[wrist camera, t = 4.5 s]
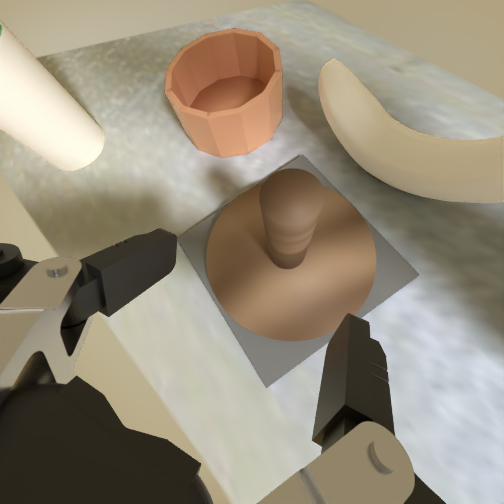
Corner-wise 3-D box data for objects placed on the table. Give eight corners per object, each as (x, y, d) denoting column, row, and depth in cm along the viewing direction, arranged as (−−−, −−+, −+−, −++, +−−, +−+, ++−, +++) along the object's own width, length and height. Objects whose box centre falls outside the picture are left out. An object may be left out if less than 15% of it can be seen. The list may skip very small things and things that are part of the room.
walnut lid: (410, 273, 18) (546, 222, 9) (267, 378, 18) (250, 445, 8) (301, 160, 23) (316, 44, 13) (183, 239, 22) (107, 176, 12)
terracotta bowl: (301, 118, 25) (306, 70, 20) (217, 174, 24) (201, 138, 19) (245, 65, 28) (238, 13, 23) (170, 113, 27) (146, 69, 23)
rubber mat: (416, 276, 19) (419, 274, 18) (266, 386, 18) (266, 388, 17) (302, 157, 23) (302, 154, 23) (178, 240, 22) (176, 238, 22)
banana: (321, 107, 25) (371, -163, 11) (502, 205, 20) (1049, -81, 6) (292, 136, 24) (306, -111, 10) (471, 247, 19) (1003, 39, 5)
